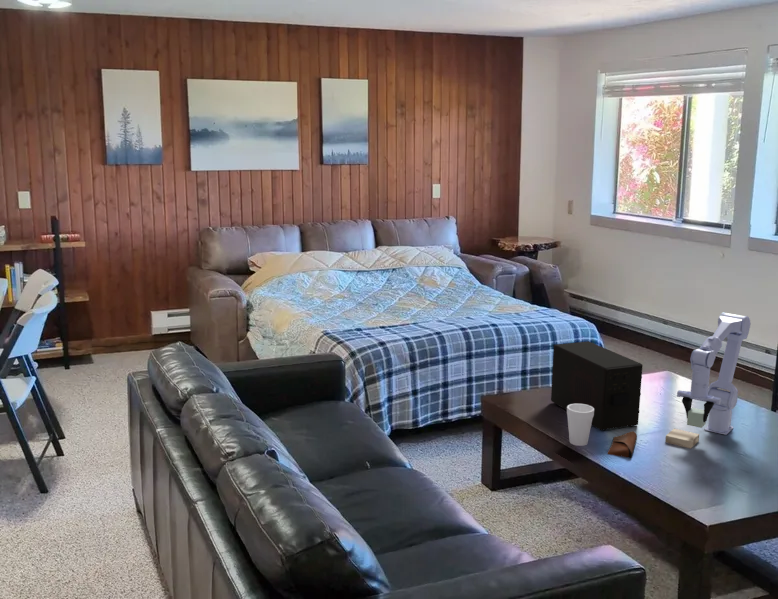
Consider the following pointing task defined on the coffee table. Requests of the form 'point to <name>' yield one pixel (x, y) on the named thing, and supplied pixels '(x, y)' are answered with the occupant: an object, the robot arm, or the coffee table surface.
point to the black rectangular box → (597, 383)
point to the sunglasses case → (623, 445)
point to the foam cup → (579, 423)
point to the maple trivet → (682, 438)
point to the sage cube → (695, 417)
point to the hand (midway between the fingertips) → (696, 419)
